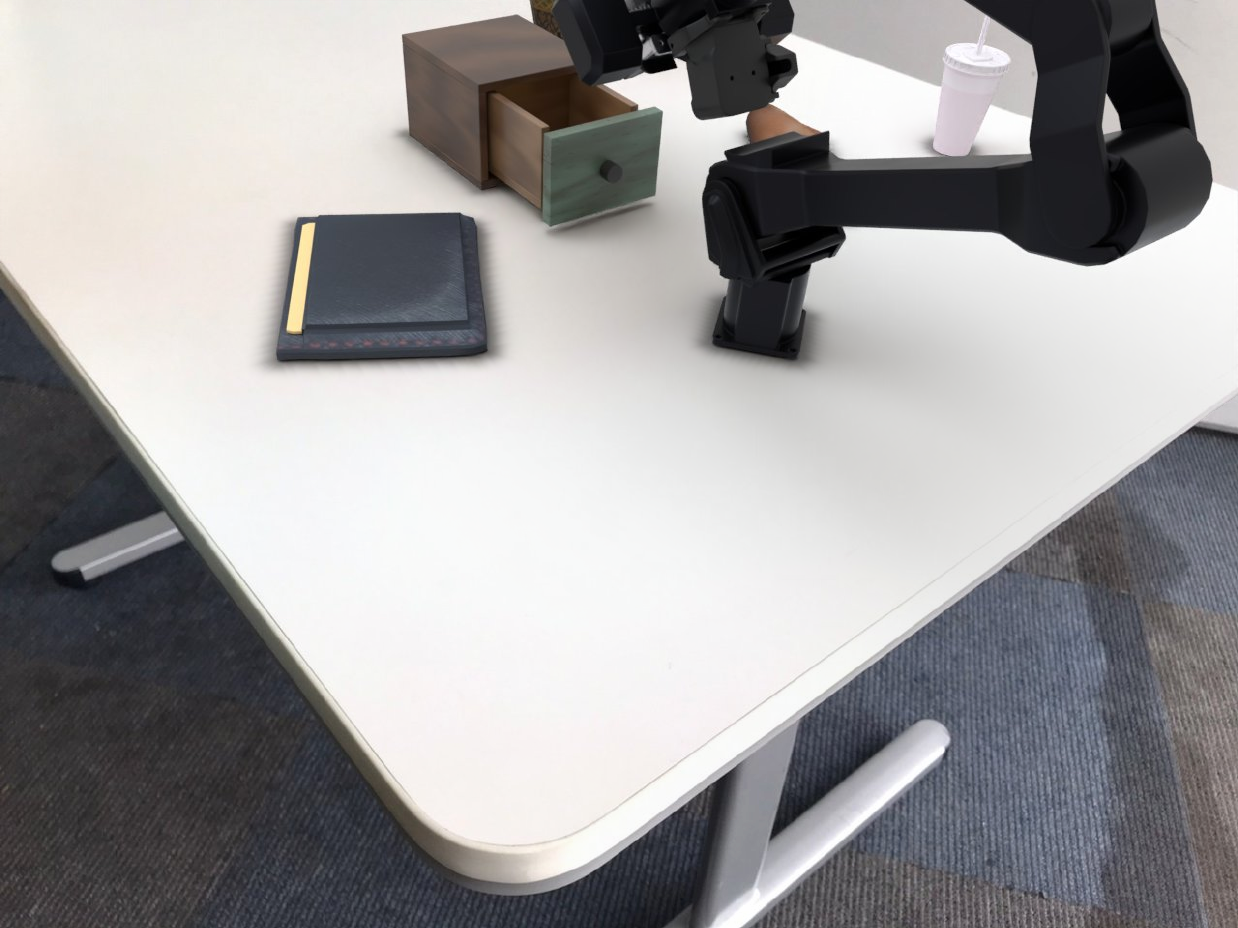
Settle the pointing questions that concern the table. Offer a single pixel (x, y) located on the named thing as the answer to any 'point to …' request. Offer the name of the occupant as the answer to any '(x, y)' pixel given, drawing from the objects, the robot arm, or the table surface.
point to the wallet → (383, 288)
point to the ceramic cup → (545, 16)
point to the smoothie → (967, 92)
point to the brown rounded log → (773, 124)
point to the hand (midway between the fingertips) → (624, 73)
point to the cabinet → (472, 83)
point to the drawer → (572, 146)
